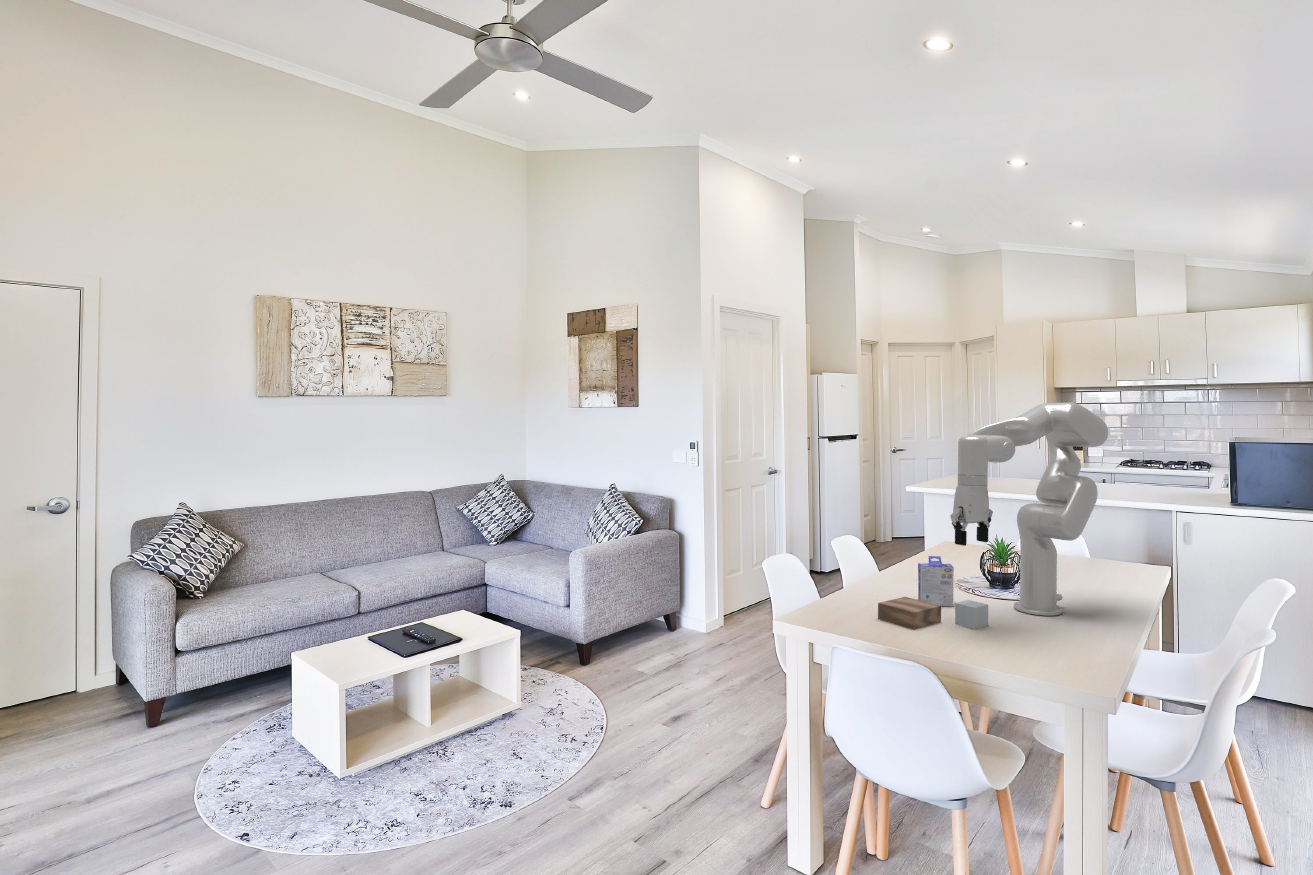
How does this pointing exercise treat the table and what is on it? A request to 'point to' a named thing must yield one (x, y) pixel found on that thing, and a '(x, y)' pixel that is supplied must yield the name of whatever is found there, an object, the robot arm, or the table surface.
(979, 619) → the grey block
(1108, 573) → the table surface
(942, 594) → the ink cartridge box
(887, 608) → the walnut block
